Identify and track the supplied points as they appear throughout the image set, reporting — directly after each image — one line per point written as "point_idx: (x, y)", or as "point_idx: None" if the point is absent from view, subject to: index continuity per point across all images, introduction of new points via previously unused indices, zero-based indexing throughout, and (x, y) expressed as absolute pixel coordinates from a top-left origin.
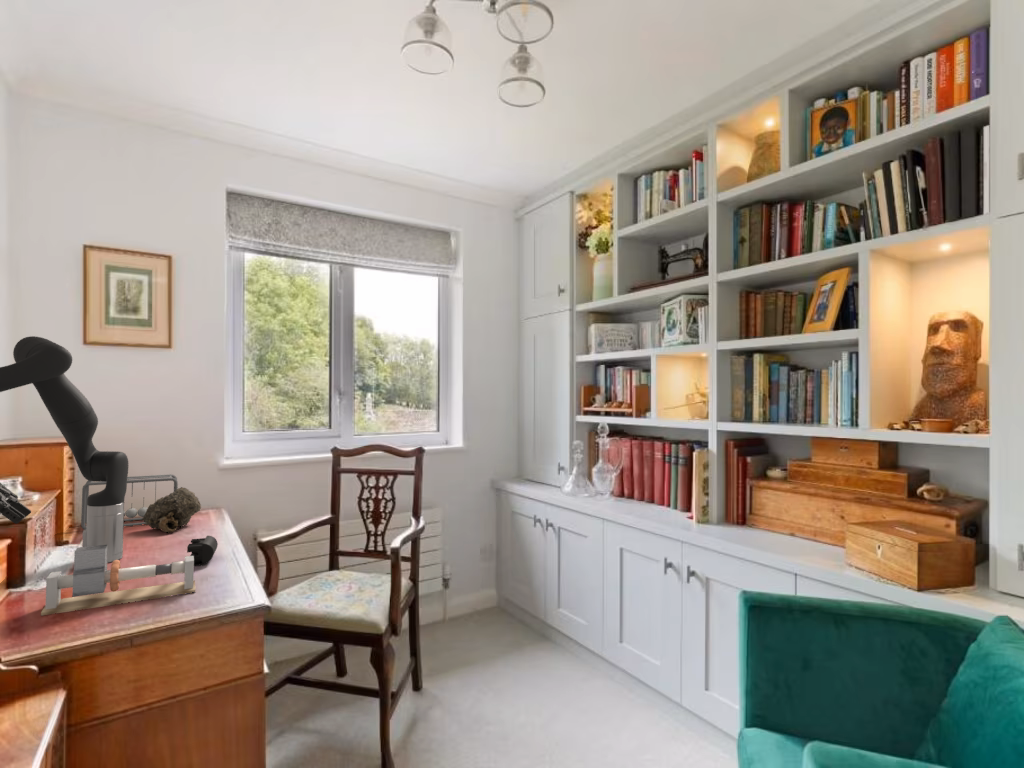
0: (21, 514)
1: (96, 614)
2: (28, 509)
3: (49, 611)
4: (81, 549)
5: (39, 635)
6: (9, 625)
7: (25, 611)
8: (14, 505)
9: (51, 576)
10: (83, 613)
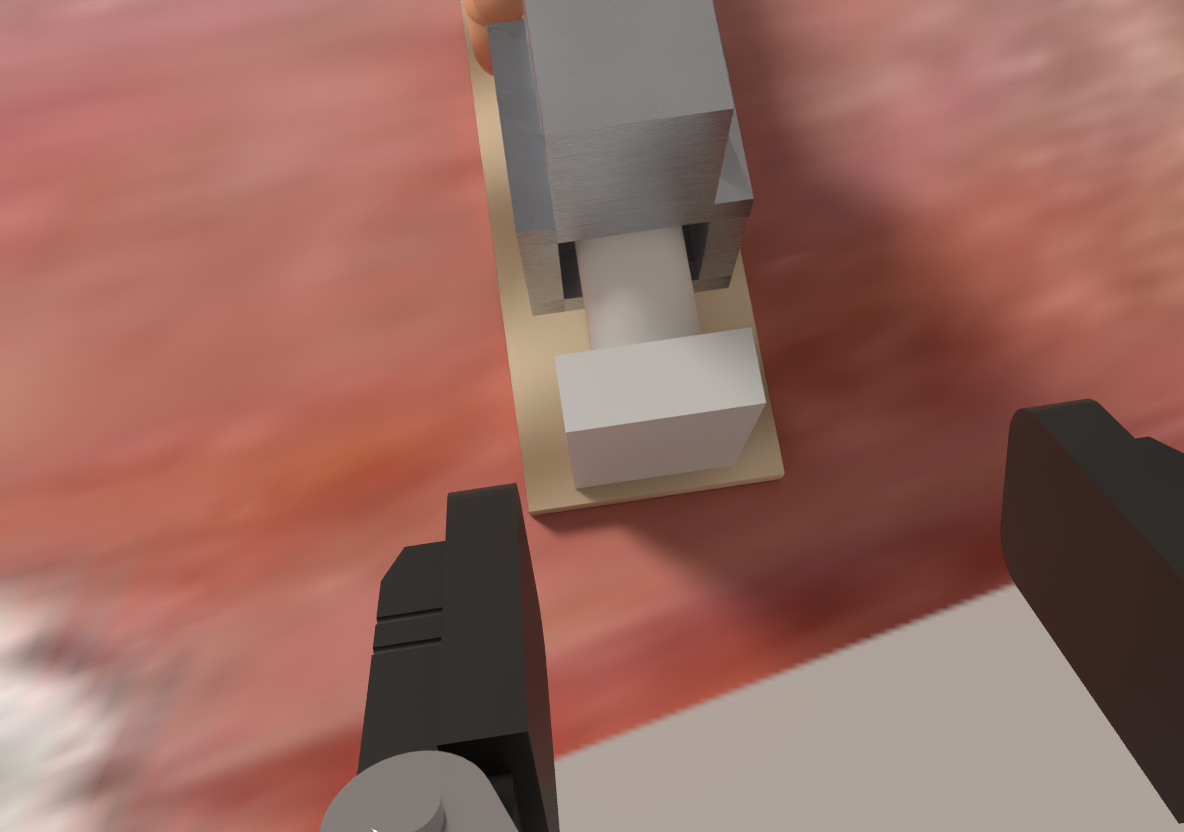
0: (1122, 433)
1: (861, 152)
2: (492, 518)
3: (772, 429)
4: (649, 72)
5: (1154, 363)
6: (918, 615)
7: (648, 617)
8: (547, 799)
9: (705, 384)
10: (817, 231)
